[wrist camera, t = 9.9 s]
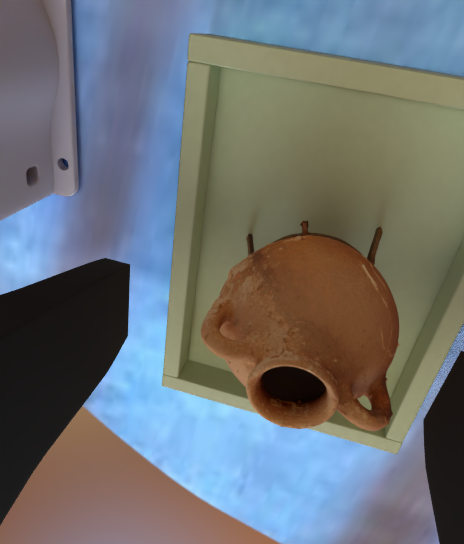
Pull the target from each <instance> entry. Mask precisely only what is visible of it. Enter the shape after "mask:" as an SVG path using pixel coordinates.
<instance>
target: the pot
mask: <svg viewBox="0 0 464 544" xmlns="http://www.w3.org/2000/svg"><path fill="white" fill-rule="evenodd" d="M300 225H301V226H302V233H299V234H291V235H287V236H285V237H282V238H280V239H278V240H276V241H274V242H272V243H269V244H267V245H266V246H265V247H263V248H261V249H259V250H257V251H256V252H254V244H253V235H252V234H248V236H247V237H246V240H247V246H248V257H246V258H245V259H243V260H242V261H241V262H240V263H238V265H234V266H233V267H232V268H231V269H230V271H229V273H228V279H227V280H226V282H225V283H224V285H223V287H222V289H221V292H220V295H219V297H217V298H216V300H215V301H214V303H213V304H212V307H211V309H210V310H209V311H208V312H207V315H206V317H205V319H204V321H203V324H202V327H201V337H202V341H203V342H204V344H205V345H206V346H207V347H208V349H209V350H210V351H211V352H212V353H214V354H215V355H217V356H219V357H221V358H224V359H225V361H226V363H227V364H228V366H229V368H230V369H231V371H232V372H233V374H234V375H235V376H236V377H237V379H238V380H239V381H240V382H241V383H242V384H243V385H244V386H245V387H246V392H247V396H248V399H249V401H250V403H251V405H252V406H253V408H254V409H255V411H257V412H258V413H259V414H260V415H261V416H262V417H264V418H265V419H267V420H269V421H270V422H273V423H275V424H277V425H280V426H281V427H290V428H297V429H303V428H310V427H314V426H317V425H320V424H322V423H324V422H325V421H327V420H328V419H330V417H331V416H332V415H333V414H334V413H335V411H336V410H337V411H338V412H339V413H341V414H342V415H343V416H344V417H345V418H346V419H347V420H349V421H350V422H351V423H353V424H354V425H356V426H357V427H359V428H361V429H365V430H369V431H376V430H380V429H382V428H384V427H385V426H386V425H388V424H389V422H390V419H391V416H392V415H393V413H392V409H391V403H390V398H389V393H388V390H387V386H386V381H387V378H386V372H387V370H388V368H389V367H390V365H391V363H392V361H393V358H394V356H395V353H396V349H397V347H398V346H400V345H399V343H398V339H399V316H398V311H397V307H396V304H395V301H394V298H393V295H392V293H391V290H390V288H389V286H388V284H387V282H386V281H385V279H384V278H383V276H382V275H381V273H380V272H379V271H378V270H377V268H376V267H375V266H374V264H375V256H376V251H377V250H378V249H377V248H378V245H379V242H380V239H381V236H382V233H383V232H382V228H381V226H380V227H378V228H377V229H376V231H375V235H374V238H373V241H372V243H371V247H370V250H369V253H368V256H367V258H366V257H364V256H363V255H362V254H361V253H360V252H359V251H358V250H357V249H356V248H354V247H353V246H351V245H350V244H349V243H347V242H345V241H343V240H341V239H339V238H337V237H333V236H329V235H325V234H320V233H309V232H308V220H307V221H302V222H301V224H300ZM363 395H365V396H366V397H367V398H368V399H369V402H370V403H371V410H368V409H367V408H365V407H364V406H363V405H361V404H360V402H359V400H358V398H361V396H363Z"/></svg>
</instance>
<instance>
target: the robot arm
mask: <svg viewBox="0 0 464 544" xmlns="http://www.w3.org/2000/svg"><path fill="white" fill-rule="evenodd" d="M63 158H64V159H65V160H66V161H67V162H68V165H69V166H68V167H66V166H65V165H64V164H63ZM78 188H79V180H78V156H77V133H76V109H75V85H74V61H73V37H72V14H71V0H0V221H1V220H3V219H5V218H7V217H9V216H11V215H12V214H14V213H16V212H18V211H20V210H22V209H24V208H26V207H28V206H30V205H32V204H34V203H36V202H38V201H40V200H41V199H43V198H45V197H47V196H49V195H51V194H57V195H61V196H68V197H69V196H71V195H73V194H75V193H76V192H77V191H78ZM129 281H130V264H126V263H122V262H118V261H115V260H111V259H107V258H104V259H100V260H97V261H93V262H90V263H88V264H85V265H82V266H79V267H76V268H74V269H71V270H68V271H66V272H63V273H61V274H58V275H55V276H53V277H50V278H47V279H44V280H42V281H39V282H36V283H34V284H31V285H28V286H26V287H23V288H20V289H17V290H14V291H11V292H8V293H5V294H2V295H0V525H1V523H2V522H3V520H4V518H5V516H6V515H7V513H8V512H9V510H10V508H11V507H12V505H13V504H14V502H15V500H16V499H17V497H18V496H19V494H20V492H21V491H22V489H23V487H24V486H25V484H26V483H27V481H28V479H29V478H30V476H31V474H32V473H33V471H34V470H35V469H36V467H37V466H38V464H39V463H40V461H41V460H42V458H43V457H44V456H45V454H46V453H47V451H48V450H49V449H50V447H51V446H52V445H53V443H54V442H55V441H56V439H57V438H58V437H59V436H60V434H61V433H62V432H63V430H64V429H65V428H66V426H67V425H68V424H69V422H70V421H71V420H72V418H73V417H74V416H75V415H76V413H77V412H78V411H79V409H80V408H81V407H82V405H83V404H84V403H85V401H86V400H87V399H88V397H89V396H90V395H91V393H92V392H93V391H94V389H95V388H96V387H97V385H98V384H99V383H100V381H101V380H102V379H103V377H104V376H105V375H106V373H107V372H108V370H109V368H110V367H111V365H112V363H113V362H114V360H115V358H116V356H117V355H118V353H119V351H120V349H121V347H122V345H123V344H124V342H125V340H126V338H127V336H128V311H129ZM424 449H425V465H426V472H427V478H428V483H429V489H430V494H431V500H432V505H433V511H434V516H435V521H436V526H437V532H438V537H439V542H440V544H464V352H463V351H461V352H460V354H459V356H458V358H457V360H456V361H455V363H454V365H453V367H452V369H451V371H450V372H449V374H448V376H447V378H446V380H445V382H444V383H443V385H442V387H441V389H440V391H439V393H438V394H437V396H436V398H435V400H434V402H433V404H432V405H431V407H430V409H429V411H428V413H427V415H426V416H425V418H424Z"/></svg>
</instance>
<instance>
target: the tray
mask: <svg viewBox="0 0 464 544" xmlns="http://www.w3.org/2000/svg"><path fill="white" fill-rule="evenodd" d="M188 61H189V62H188V64H187V76H186V89H185V102H184V114H183V127H182V140H181V153H180V165H179V178H178V191H177V204H176V216H175V229H174V242H173V255H172V267H171V280H170V293H169V306H168V319H167V331H166V344H165V357H164V370H163V379H162V386H165V387H168V388H171V389H175V390H178V391H182V392H185V393H189V394H192V395H195V396H199V397H202V398H206V399H209V400H212V401H216V402H219V403H223V404H226V405H230V406H233V407H236V408H240V409H243V410H247V411H250V412H254V413H257V414H259V413H258V412H257V411H255V409H254V408H253V406H252V405H251V403H250V401H249V399H248V396H247V392H246V387H245V386H244V385H243V384H242V383H241V382H240V381H239V380H238V379H237V377H236V376H235V375H234V374H233V372H232V371H231V369H230V368H229V366H228V364H227V363H226V361H225V359H224V358H221V357H219V356H217V355H215V354H214V353H212V352H211V351H210V350H209V349H208V347H207V346H206V345H205V344H204V342H203V341H202V337H201V327H202V324H203V321H204V319H205V317H206V315H207V312H208V311H209V310H210V309H211V307H212V304H213V303H214V301H215V300H216V298H217V297H219V295H220V292H221V289H222V287H223V285H224V283H225V282H226V280H227V279H228V273H229V271H230V269H231V268H232V267H233V266H234V265H238V263H240V262H241V261H242V260H243V259H245V258H246V257H248V246H247V240H246V237H247V236H248V234H252V235H253V244H254V252H256V251H257V250H259V249H261V248H263V247H265V246H266V245H267V244H269V243H272V242H274V241H276V240H278V239H280V238H282V237H285V236H287V235H291V234H299V233H302V226H301V225H300V224H301V222H302V221H307V220H308V232H309V233H320V234H325V235H329V236H333V237H337V238H339V239H341V240H343V241H345V242H347V243H349V244H350V245H351V246H353V247H354V248H356V249H357V250H358V251H359V252H360V253H361V254H362V255H363V256H364V257H366V258H367V256H368V253H369V250H370V247H371V243H372V241H373V238H374V235H375V231H376V229H377V228H378V227H380V226H381V228H382V232H383V233H382V236H381V239H380V242H379V245H378V248H377V249H378V250H377V251H376V256H375V264H374V266H375V267H376V268H377V270H378V271H379V272H380V273H381V275H382V276H383V278H384V279H385V281H386V282H387V284H388V286H389V288H390V290H391V293H392V295H393V298H394V301H395V304H396V307H397V311H398V316H399V339H398V343H399V345H400V346H398V347H397V349H396V353H395V356H394V358H393V361H392V363H391V365H390V367H389V368H388V370H387V372H386V378H387V381H386V386H387V390H388V393H389V398H390V403H391V409H392V413H393V415H392V416H391V419H390V422H389V424H388V425H386V426H385V427H384V428H382V429H380V430H376V431H369V430H365V429H361V428H359V427H357V426H356V425H354V424H353V423H351V422H350V421H349V420H347V419H346V418H345V417H344V416H343V415H342V414H341V413H339V412H338V411H337V410H336V411H335V413H334V414H333V415H332V416H331V417H330V419H328V420H327V421H325V422H324V423H322V424H320V425H317V426H314V427H310V428H308V429H312V430H315V431H319V432H322V433H325V434H329V435H332V436H336V437H339V438H343V439H346V440H349V441H353V442H356V443H360V444H363V445H367V446H370V447H373V448H377V449H380V450H384V451H387V452H391V453H394V454H397V453H398V451H399V449H400V447H401V445H402V442H403V440H404V438H405V436H406V434H407V433H408V431H409V429H410V427H411V425H412V423H413V421H414V419H415V417H416V415H417V413H418V411H419V409H420V407H421V405H422V403H423V401H424V399H425V397H426V395H427V393H428V391H429V389H430V387H431V385H432V384H433V382H434V380H435V378H436V376H437V374H438V372H439V370H440V368H441V366H442V364H443V362H444V360H445V358H446V356H447V354H448V352H449V350H450V348H451V346H452V344H453V342H454V340H455V338H456V336H457V334H458V333H459V331H460V329H461V327H462V325H463V323H464V77H462V76H457V75H451V74H445V73H439V72H433V71H427V70H421V69H415V68H409V67H403V66H397V65H391V64H385V63H379V62H373V61H367V60H361V59H355V58H349V57H343V56H337V55H331V54H325V53H319V52H313V51H307V50H301V49H295V48H289V47H283V46H277V45H271V44H265V43H259V42H253V41H247V40H241V39H235V38H229V37H223V36H217V35H211V34H195V33H191V34H190V35H189V46H188ZM358 400H359V402H360V404H361V405H363V406H364V407H365V408H367V409H368V410H371V403H370V402H369V399H368V398H367V397H366V396H365V395H363V396H361V398H358Z"/></svg>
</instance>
